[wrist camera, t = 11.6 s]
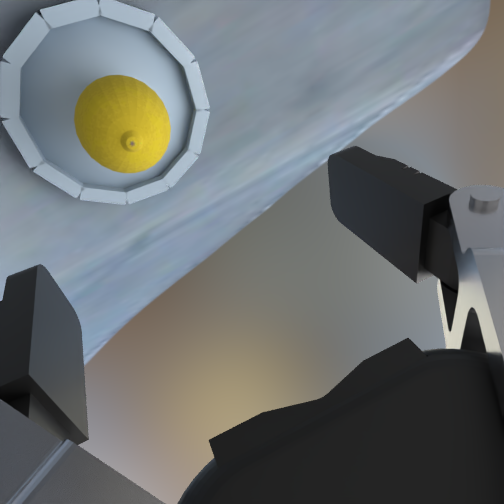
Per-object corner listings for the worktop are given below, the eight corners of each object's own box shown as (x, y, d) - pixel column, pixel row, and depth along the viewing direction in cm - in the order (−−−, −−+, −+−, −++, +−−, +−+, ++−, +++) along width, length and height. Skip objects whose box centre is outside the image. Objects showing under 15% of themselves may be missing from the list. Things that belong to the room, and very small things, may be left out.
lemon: (73, 58, 24) (77, 77, 18) (161, 76, 27) (191, 99, 21) (71, 145, 27) (74, 188, 21) (152, 154, 29) (176, 195, 23)
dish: (-45, 31, 22) (-52, 33, 21) (168, -24, 25) (174, -26, 24) (65, 217, 30) (65, 228, 29) (218, 161, 33) (226, 168, 31)
